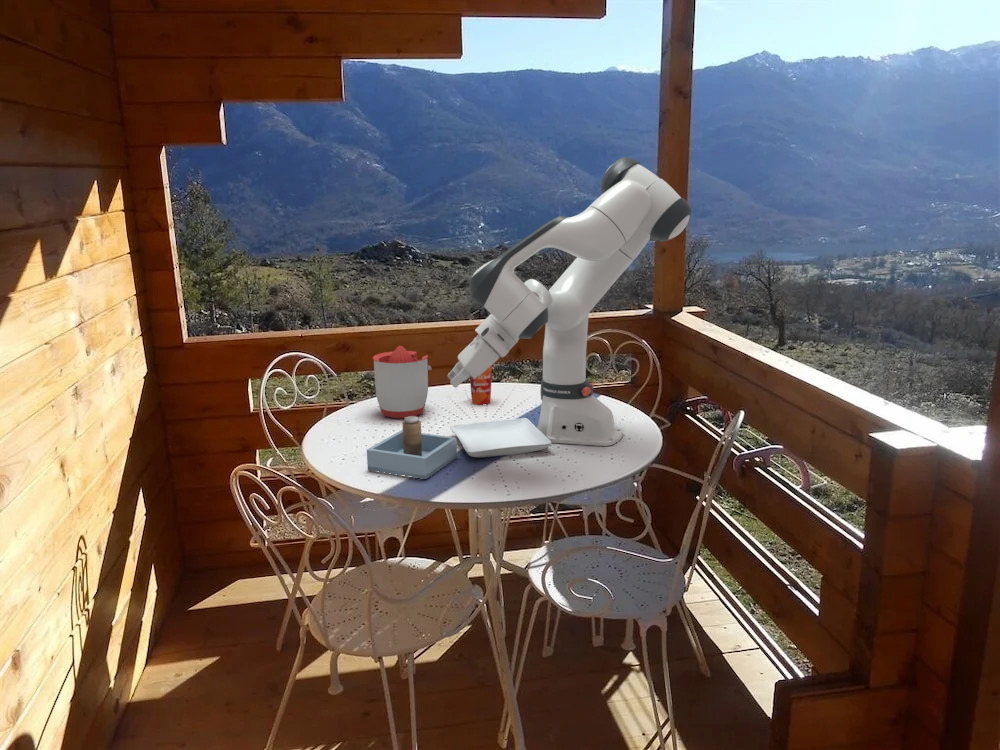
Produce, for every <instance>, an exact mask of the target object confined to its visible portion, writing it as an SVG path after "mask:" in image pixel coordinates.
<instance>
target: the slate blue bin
mask: <svg viewBox="0 0 1000 750" xmlns="http://www.w3.org/2000/svg"><path fill="white" fill-rule="evenodd" d="M457 439H458V437H453V436H448V435H447V436H446V435H439V434H432V433H425V432H421V441H422V456H417V455H410V454H404V452H403V429H401V430H399V431H398V432H396V433H394V434H393V435H391V436H388V437H387V438H385V439H383V440H382V441H380V442H378V443H376V444H374V445H373V446H371V447H369V448H367V449H366V460H367V461H366V464H367V471H368V470H372V471H371V472H373V471H379V472H385V473H391V474H397V475H405V476H412V477H418V478H423V479H427V478H429V477H430V476H431V477H433V476H434V475H435V474H436V472H437V471H438V472H440V471H441V470H442V469H444V468H445V467H446V466H448V465H449V464H451V463H452V462H453V461H454V459H455V460H456V459H457V458H458V448H457V446H458V445H457V443H458V442H457ZM452 460H453V461H452ZM451 461H452V462H451ZM448 463H449V464H448ZM447 464H448V465H447ZM445 465H446V466H445ZM444 466H445V467H444ZM443 467H444V468H443ZM441 468H442V469H441ZM440 469H441V470H440ZM379 472H378V473H379ZM438 472H437V473H438ZM385 473H384V474H385ZM434 473H435V474H434ZM391 474H390V475H391ZM433 474H434V475H433ZM397 475H396V476H397ZM432 475H433V476H432ZM431 477H430V478H431ZM430 478H429V479H430ZM427 480H428V479H427Z"/></svg>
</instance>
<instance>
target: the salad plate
mask: <svg viewBox="0 0 1000 750" xmlns="http://www.w3.org/2000/svg"><path fill="white" fill-rule="evenodd" d="M449 428H450V430H451V432H452V433H453V434H454V435H455V436H456V438H457V439H458V440H459V442H460V443H461V445H462V446H463V447H462V448H463V449H464V451H465V452H466V454H467V455H468V456H470V457H473V458H491V457H501V456H508V455H509V456H511V455H517V454H526V453H527V454H528V453H533V452H539V451H542V450H544V449H547V448H548V447H550V446H552V443H551V441H550V440H549V439H548V438H547V437H546V436H545V435H544V434H543V433H542V432H540V431H539V430H538V429H537V426H536V425H535V424H533V422H531V421H530V420H529V419H528V418H526V417H521V418H511V419H500V420H490V421H489V420H488V421H481V422H480V421H479V422H472V423H463V424H462V423H461V424H454V425H450V426H449Z"/></svg>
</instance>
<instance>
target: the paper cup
mask: <svg viewBox="0 0 1000 750" xmlns="http://www.w3.org/2000/svg"><path fill="white" fill-rule="evenodd" d="M492 373H493V364H492V365H491V366H490V367H489V368H488V369H487V370H486V371H484V372H483V373H482V374H481V375H479V376H478V377H476V378H474V377H472V376H471V375H470V377H469V382H470V385H469V386H470V394H471V395H470V396H471V397H470V398H471V403H472V404H473V405H475V404H477V405H476V406H484V405H483V404H486V405H489V404H491V400H492V399H491V395H492V377H493V375H492ZM488 403H489V404H488Z"/></svg>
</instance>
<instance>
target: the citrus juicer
mask: <svg viewBox="0 0 1000 750" xmlns="http://www.w3.org/2000/svg"><path fill="white" fill-rule="evenodd" d="M372 360H373V371H374V388H375V394H376V395H375V396H376V400H377V404H378V405H379V409H380V411H381V413H382V415H383V416H385V417H388V418H393V419H394V418H395V419H396V420H400V419H402V420H403V419H404V418H405V417H409V416H416V417H418V416H419V415H422V413H423V412H424V410H425V407H426V402H427V399H428V393H429V374H428V373H429V371H431V370H432V366H431V365H429V355H428V354H426V355H424V356H422V357H421V359H418V353H417V351H413V350H407V349H406V348H405V347H404V346H403V345H399V346H397V347H396V348H395V349H394V350H393V351H387V352H381V353H377V354H375V355H374V356H373V357H372Z"/></svg>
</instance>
